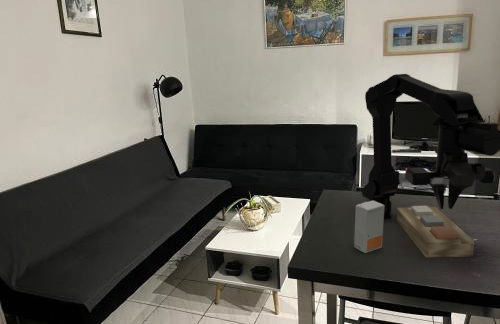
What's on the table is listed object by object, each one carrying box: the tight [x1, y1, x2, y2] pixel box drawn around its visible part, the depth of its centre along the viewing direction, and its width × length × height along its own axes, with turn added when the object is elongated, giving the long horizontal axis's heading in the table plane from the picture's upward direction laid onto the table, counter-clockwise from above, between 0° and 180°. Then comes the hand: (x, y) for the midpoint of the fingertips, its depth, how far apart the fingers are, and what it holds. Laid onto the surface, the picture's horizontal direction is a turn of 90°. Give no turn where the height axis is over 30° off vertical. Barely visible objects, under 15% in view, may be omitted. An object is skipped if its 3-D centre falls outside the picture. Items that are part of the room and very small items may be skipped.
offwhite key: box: [410, 205, 433, 216], centre depth 108 cm, size 4×4×2 cm
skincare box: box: [353, 201, 385, 254], centre depth 97 cm, size 6×4×12 cm
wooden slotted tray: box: [396, 206, 475, 258], centre depth 102 cm, size 11×22×4 cm, turn 177°
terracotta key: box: [431, 226, 457, 239], centre depth 95 cm, size 4×4×2 cm
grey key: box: [420, 215, 444, 227], centre depth 101 cm, size 4×4×2 cm
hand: (445, 208), depth 93 cm, fingers closed
